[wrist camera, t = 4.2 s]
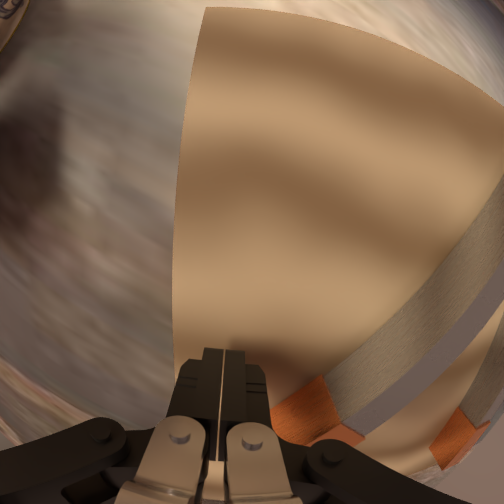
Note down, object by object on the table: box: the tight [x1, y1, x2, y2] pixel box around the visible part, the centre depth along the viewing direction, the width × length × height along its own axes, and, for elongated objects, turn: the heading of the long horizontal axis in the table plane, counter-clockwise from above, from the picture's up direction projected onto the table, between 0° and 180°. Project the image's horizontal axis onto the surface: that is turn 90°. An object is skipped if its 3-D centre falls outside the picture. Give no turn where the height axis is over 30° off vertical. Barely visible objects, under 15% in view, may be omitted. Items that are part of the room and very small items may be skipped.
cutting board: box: [172, 7, 504, 501], centre depth 12 cm, size 30×24×2 cm
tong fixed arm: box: [429, 312, 504, 471], centre depth 11 cm, size 18×2×3 cm, turn 174°
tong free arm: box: [270, 175, 504, 447], centre depth 9 cm, size 23×4×3 cm, turn 134°
